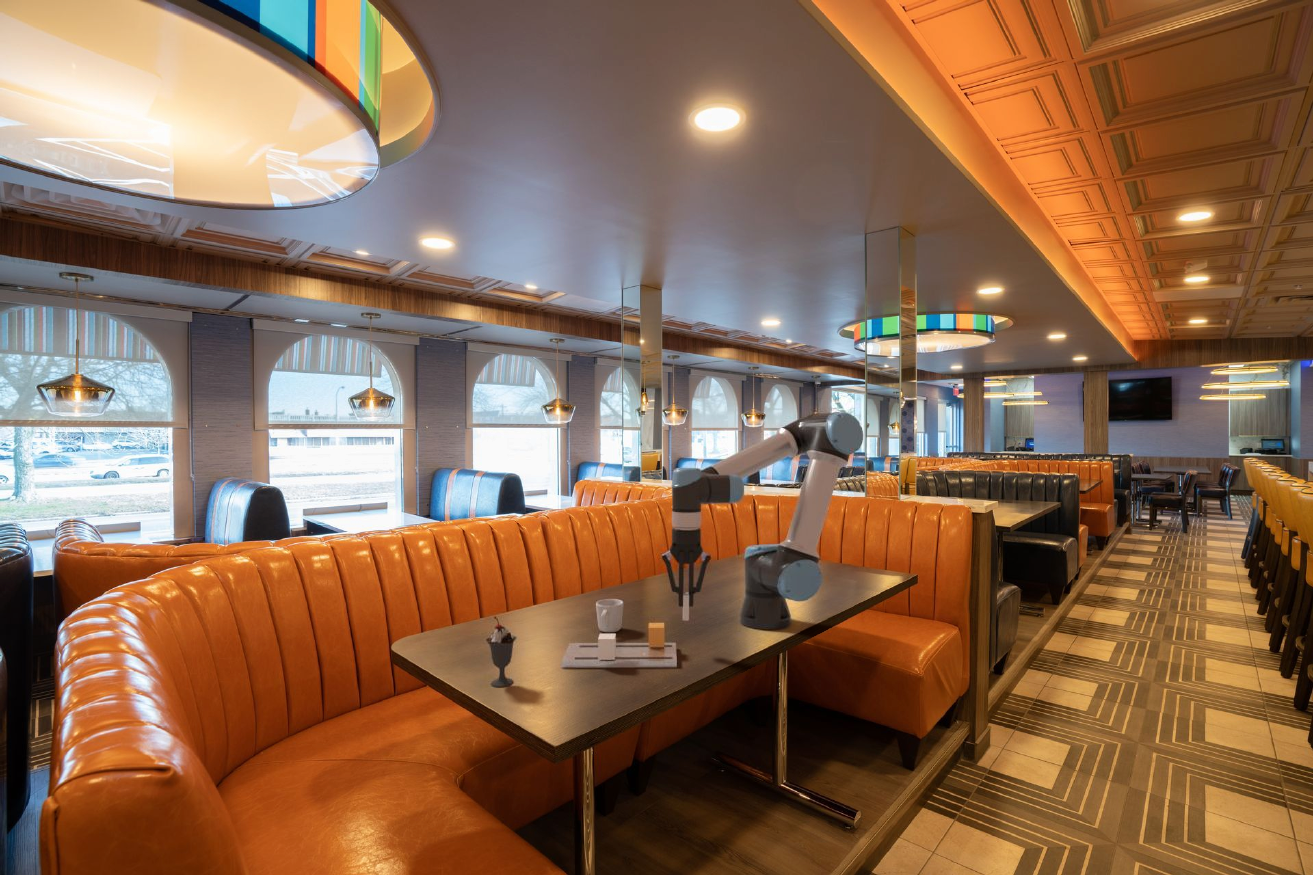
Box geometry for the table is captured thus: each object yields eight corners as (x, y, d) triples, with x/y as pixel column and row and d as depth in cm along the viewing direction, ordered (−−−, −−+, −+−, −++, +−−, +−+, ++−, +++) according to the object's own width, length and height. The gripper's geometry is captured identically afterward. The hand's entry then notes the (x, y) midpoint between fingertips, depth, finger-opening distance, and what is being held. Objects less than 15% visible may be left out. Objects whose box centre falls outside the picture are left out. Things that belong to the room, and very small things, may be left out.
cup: (617, 638, 169) (616, 609, 169) (589, 636, 170) (589, 608, 170) (626, 626, 179) (626, 599, 179) (600, 625, 181) (600, 598, 181)
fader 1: (616, 653, 152) (615, 633, 152) (614, 659, 148) (614, 638, 148) (599, 653, 152) (599, 633, 152) (598, 659, 148) (598, 638, 148)
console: (675, 648, 161) (675, 642, 161) (676, 667, 148) (676, 660, 148) (569, 648, 161) (569, 642, 161) (561, 667, 148) (561, 660, 148)
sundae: (489, 677, 142) (488, 613, 142) (518, 676, 143) (518, 612, 143) (484, 689, 136) (483, 622, 135) (514, 688, 136) (514, 621, 136)
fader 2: (664, 641, 160) (664, 622, 160) (664, 647, 156) (664, 627, 156) (649, 641, 160) (648, 622, 160) (648, 647, 156) (648, 627, 156)
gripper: (710, 525, 161) (709, 614, 161) (661, 525, 162) (660, 614, 162) (712, 530, 154) (712, 623, 154) (661, 529, 154) (660, 623, 154)
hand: (685, 618), depth 158 cm, fingers closed
